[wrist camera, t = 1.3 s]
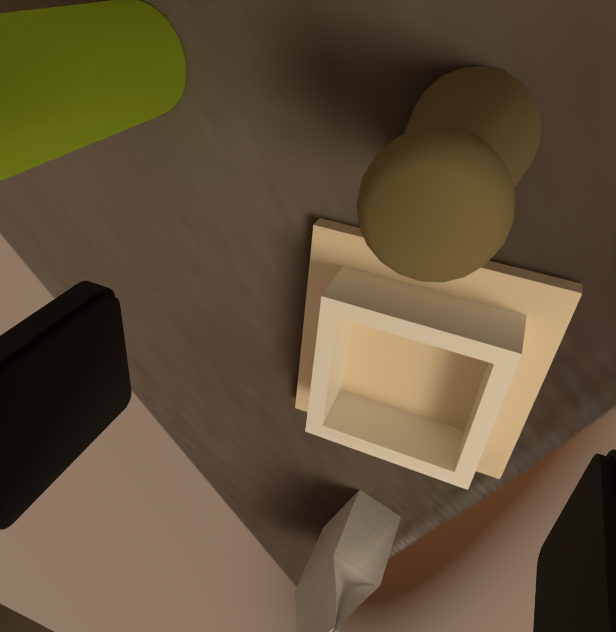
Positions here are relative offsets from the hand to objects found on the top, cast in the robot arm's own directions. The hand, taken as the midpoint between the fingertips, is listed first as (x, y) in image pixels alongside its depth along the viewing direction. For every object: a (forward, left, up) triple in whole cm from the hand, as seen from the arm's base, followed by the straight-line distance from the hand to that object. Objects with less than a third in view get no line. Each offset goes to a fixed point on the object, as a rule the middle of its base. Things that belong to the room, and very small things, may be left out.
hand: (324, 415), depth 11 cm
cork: (0, 0, -20) cm, 20 cm away
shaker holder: (+13, 0, -20) cm, 24 cm away
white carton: (+31, -1, -20) cm, 37 cm away
